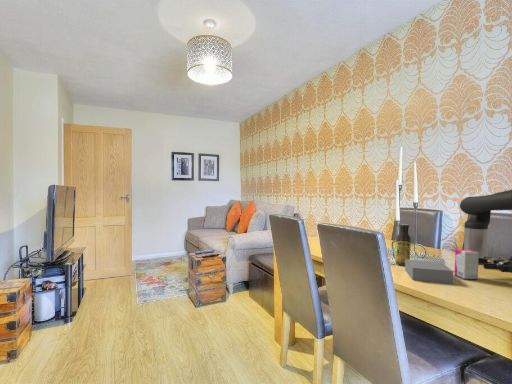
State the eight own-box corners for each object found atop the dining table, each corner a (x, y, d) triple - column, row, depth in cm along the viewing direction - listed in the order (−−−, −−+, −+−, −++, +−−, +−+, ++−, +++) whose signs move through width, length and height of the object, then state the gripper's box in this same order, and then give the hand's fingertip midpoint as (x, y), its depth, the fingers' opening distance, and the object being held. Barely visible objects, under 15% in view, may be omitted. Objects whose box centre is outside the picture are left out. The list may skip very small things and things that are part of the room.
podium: (405, 270, 124) (405, 259, 124) (440, 273, 120) (440, 261, 120) (412, 280, 111) (412, 267, 111) (452, 283, 106) (453, 270, 106)
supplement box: (478, 280, 111) (479, 252, 111) (464, 280, 111) (464, 252, 111) (467, 275, 116) (468, 249, 116) (453, 275, 117) (454, 248, 116)
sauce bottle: (395, 265, 132) (395, 224, 132) (395, 262, 138) (395, 223, 137) (411, 267, 129) (411, 225, 129) (409, 263, 135) (410, 223, 135)
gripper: (516, 252, 114) (470, 250, 119) (540, 261, 101) (487, 258, 105) (516, 270, 114) (470, 267, 119) (540, 281, 101) (487, 277, 105)
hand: (478, 263), depth 112 cm, fingers open, 8 cm apart
